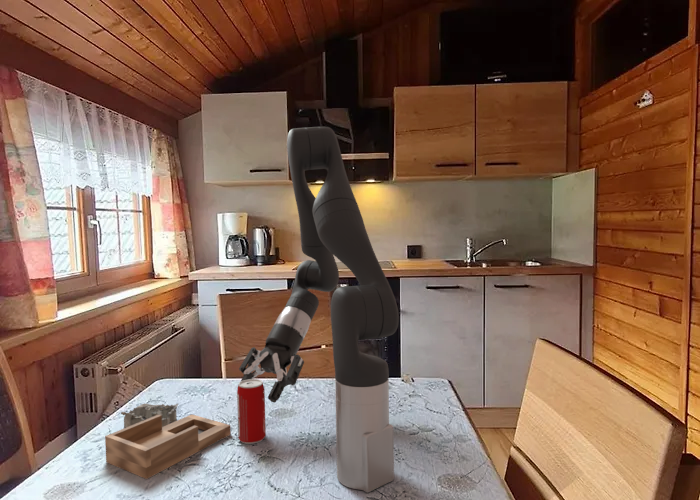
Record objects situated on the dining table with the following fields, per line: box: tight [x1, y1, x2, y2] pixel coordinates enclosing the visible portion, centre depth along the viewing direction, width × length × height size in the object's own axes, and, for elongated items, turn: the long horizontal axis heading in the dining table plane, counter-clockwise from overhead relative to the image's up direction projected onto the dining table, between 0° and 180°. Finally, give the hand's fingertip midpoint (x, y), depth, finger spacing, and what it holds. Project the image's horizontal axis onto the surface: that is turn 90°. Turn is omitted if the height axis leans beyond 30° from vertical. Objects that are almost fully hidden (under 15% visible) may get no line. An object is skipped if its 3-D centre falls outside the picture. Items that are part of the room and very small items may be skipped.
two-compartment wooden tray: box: [104, 414, 232, 480], centre depth 93 cm, size 12×20×5 cm, turn 149°
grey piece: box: [120, 403, 179, 428], centre depth 105 cm, size 11×8×4 cm
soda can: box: [236, 378, 267, 445], centre depth 96 cm, size 6×6×12 cm
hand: (255, 396), depth 97 cm, fingers open, 8 cm apart
